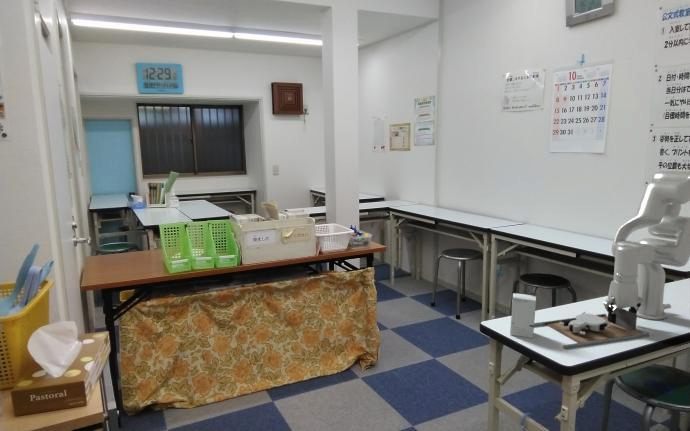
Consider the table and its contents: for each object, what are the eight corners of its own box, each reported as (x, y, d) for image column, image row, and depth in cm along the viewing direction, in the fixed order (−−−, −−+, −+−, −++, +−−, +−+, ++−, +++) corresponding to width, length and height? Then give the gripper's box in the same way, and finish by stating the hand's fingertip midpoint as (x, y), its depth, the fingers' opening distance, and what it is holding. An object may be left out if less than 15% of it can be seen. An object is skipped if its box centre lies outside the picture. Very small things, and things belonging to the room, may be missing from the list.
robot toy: (583, 342, 158) (614, 332, 163) (583, 330, 158) (614, 321, 163) (556, 329, 170) (585, 320, 175) (556, 318, 169) (585, 309, 174)
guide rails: (605, 316, 181) (605, 313, 180) (648, 336, 161) (649, 333, 161) (527, 326, 172) (528, 323, 172) (564, 349, 153) (564, 346, 153)
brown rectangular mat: (606, 317, 180) (607, 301, 179) (646, 335, 162) (647, 318, 161) (547, 325, 173) (547, 309, 172) (581, 344, 156) (582, 327, 155)
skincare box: (510, 335, 165) (511, 297, 163) (510, 329, 171) (512, 292, 168) (534, 338, 162) (536, 300, 160) (534, 332, 167) (536, 294, 165)
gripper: (635, 273, 173) (632, 315, 176) (598, 277, 169) (595, 320, 172) (652, 278, 166) (648, 322, 169) (614, 283, 162) (611, 327, 165)
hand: (621, 321), depth 170 cm, fingers open, 9 cm apart
